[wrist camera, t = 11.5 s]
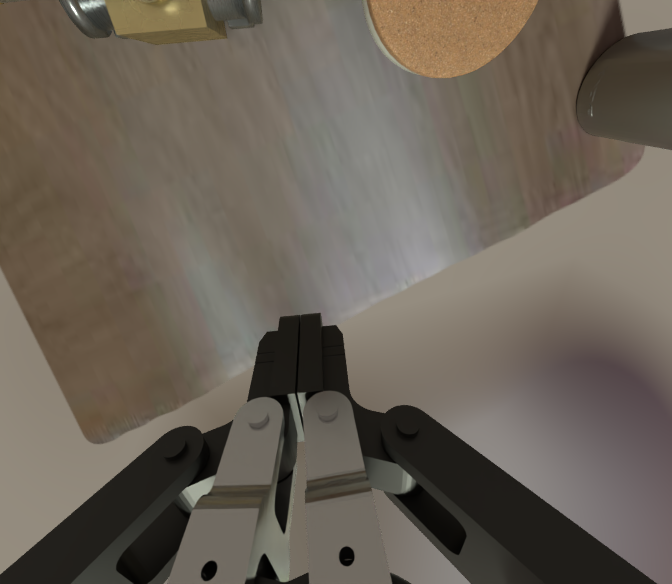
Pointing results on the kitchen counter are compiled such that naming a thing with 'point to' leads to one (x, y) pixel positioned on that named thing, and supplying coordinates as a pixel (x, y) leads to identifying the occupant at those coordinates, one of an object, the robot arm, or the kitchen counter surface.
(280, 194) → the kitchen counter surface
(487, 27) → the lidded bowl
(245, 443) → the robot arm
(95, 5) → the ball valve
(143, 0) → the lever
